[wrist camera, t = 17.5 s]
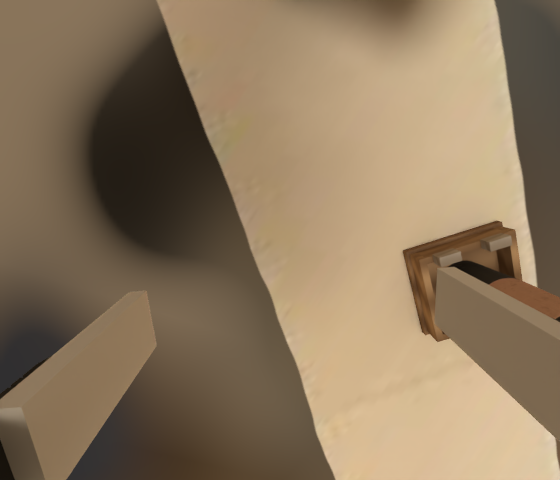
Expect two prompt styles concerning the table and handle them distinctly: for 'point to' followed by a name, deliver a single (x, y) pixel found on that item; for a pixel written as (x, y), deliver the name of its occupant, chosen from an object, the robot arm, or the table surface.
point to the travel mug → (513, 288)
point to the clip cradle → (459, 247)
